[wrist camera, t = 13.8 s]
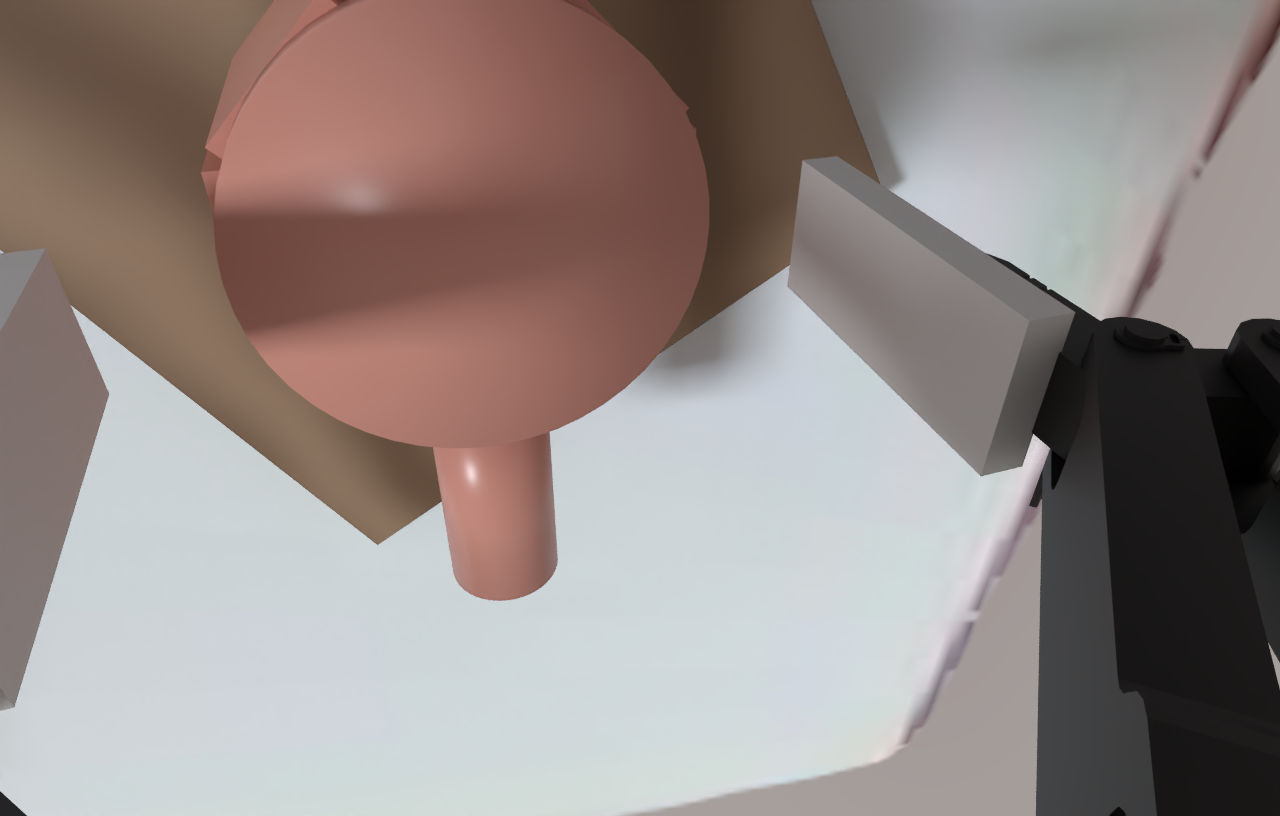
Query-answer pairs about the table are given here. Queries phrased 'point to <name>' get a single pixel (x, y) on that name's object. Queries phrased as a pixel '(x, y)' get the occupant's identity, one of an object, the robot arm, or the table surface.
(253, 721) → the table surface
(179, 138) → the base
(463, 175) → the cap
